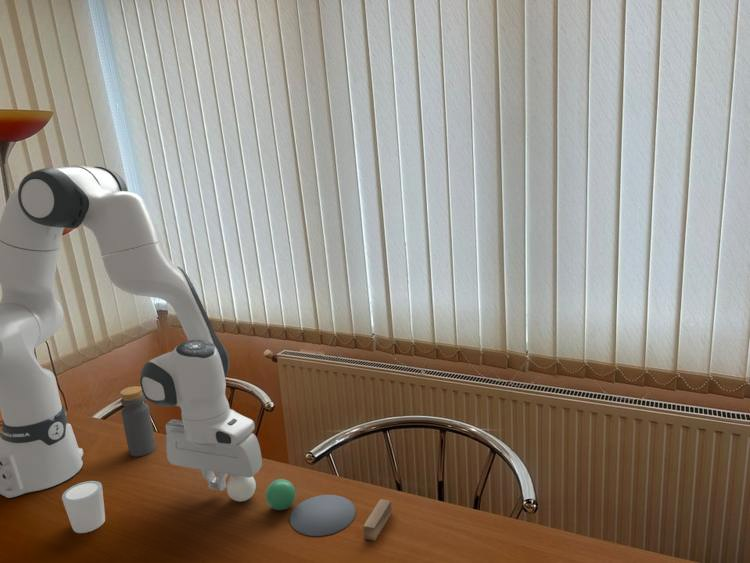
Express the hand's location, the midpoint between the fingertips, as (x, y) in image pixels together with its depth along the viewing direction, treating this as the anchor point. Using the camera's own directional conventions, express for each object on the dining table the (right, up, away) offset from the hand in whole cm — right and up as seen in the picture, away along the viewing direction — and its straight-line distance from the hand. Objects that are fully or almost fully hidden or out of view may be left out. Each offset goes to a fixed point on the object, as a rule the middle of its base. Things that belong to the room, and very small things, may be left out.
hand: (217, 488), depth 120 cm
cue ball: (+5, +1, -2) cm, 6 cm away
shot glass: (-23, -5, -5) cm, 24 cm away
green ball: (+13, +1, -6) cm, 14 cm away
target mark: (+21, -2, -8) cm, 23 cm away
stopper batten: (+32, -2, -13) cm, 34 cm away
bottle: (-23, +1, +21) cm, 31 cm away
